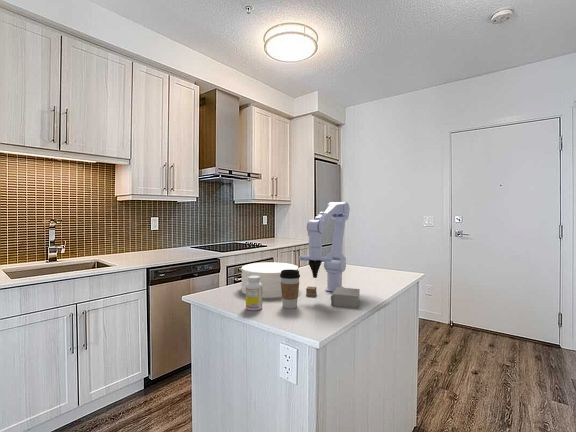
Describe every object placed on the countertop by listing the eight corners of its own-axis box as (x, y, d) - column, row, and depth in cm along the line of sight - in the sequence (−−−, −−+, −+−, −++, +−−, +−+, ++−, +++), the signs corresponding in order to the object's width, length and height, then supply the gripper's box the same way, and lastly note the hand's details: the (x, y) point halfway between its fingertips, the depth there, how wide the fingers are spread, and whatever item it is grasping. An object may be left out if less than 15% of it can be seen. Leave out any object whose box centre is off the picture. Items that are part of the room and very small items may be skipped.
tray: (333, 297, 142) (333, 288, 142) (356, 299, 139) (357, 290, 139) (329, 304, 131) (330, 295, 131) (354, 307, 128) (355, 297, 128)
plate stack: (273, 301, 135) (273, 275, 135) (229, 291, 152) (229, 267, 152) (308, 288, 158) (309, 266, 158) (266, 280, 175) (267, 260, 174)
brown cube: (308, 293, 148) (308, 286, 148) (316, 294, 147) (316, 287, 147) (306, 295, 144) (306, 288, 144) (314, 296, 143) (314, 289, 143)
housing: (336, 297, 142) (337, 287, 142) (359, 299, 139) (359, 289, 139) (333, 305, 130) (333, 294, 130) (357, 307, 127) (357, 296, 127)
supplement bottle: (254, 304, 130) (254, 274, 130) (265, 308, 126) (265, 276, 126) (242, 308, 125) (242, 276, 125) (253, 312, 121) (254, 279, 121)
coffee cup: (282, 310, 124) (282, 272, 123) (277, 303, 132) (277, 268, 131) (302, 308, 126) (302, 271, 125) (296, 302, 134) (296, 267, 134)
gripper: (297, 247, 136) (296, 278, 136) (330, 248, 132) (330, 280, 132) (301, 245, 143) (300, 274, 143) (332, 246, 139) (332, 277, 139)
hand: (315, 277), depth 138 cm, fingers closed
